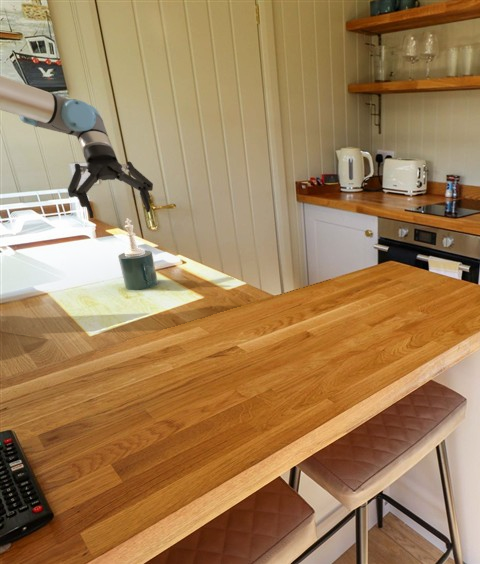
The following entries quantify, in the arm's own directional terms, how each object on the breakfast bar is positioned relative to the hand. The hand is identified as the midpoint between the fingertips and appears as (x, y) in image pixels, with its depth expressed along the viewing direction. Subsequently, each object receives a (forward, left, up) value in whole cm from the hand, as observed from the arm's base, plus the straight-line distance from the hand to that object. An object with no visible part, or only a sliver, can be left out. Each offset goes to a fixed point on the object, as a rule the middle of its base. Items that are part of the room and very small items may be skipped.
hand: (121, 212), depth 117 cm
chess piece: (+4, -5, -11) cm, 13 cm away
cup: (+5, -6, -20) cm, 21 cm away
